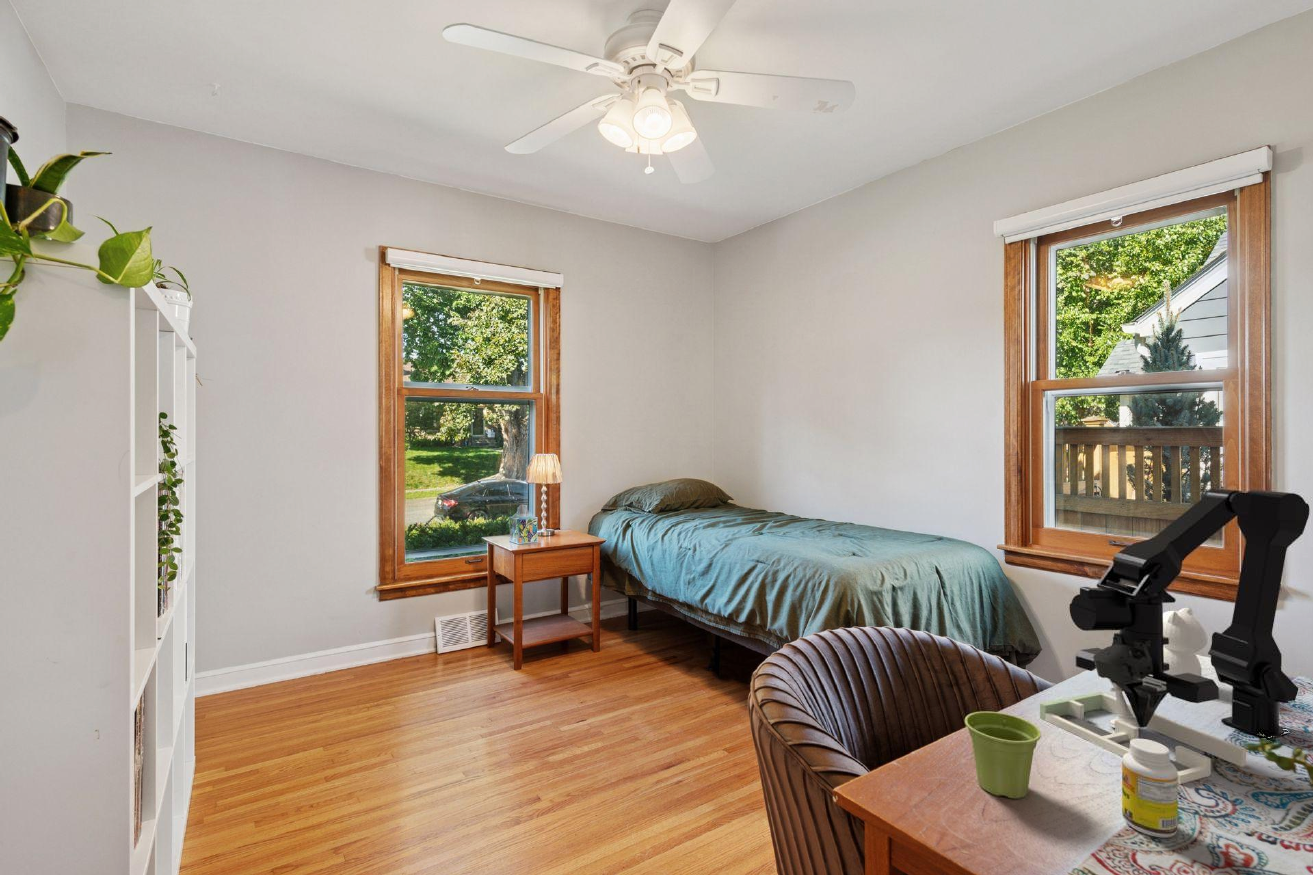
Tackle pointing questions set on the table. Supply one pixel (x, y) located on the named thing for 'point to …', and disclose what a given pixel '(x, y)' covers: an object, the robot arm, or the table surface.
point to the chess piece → (1122, 708)
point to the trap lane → (1186, 760)
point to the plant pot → (1002, 751)
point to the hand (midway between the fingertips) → (1142, 726)
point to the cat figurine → (1183, 642)
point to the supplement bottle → (1149, 789)
